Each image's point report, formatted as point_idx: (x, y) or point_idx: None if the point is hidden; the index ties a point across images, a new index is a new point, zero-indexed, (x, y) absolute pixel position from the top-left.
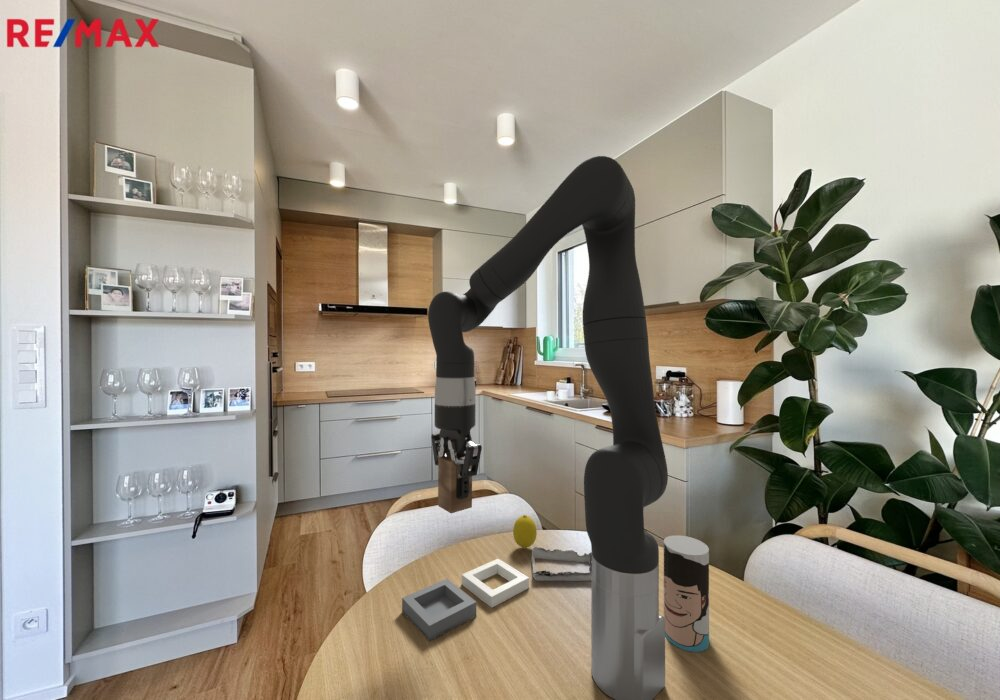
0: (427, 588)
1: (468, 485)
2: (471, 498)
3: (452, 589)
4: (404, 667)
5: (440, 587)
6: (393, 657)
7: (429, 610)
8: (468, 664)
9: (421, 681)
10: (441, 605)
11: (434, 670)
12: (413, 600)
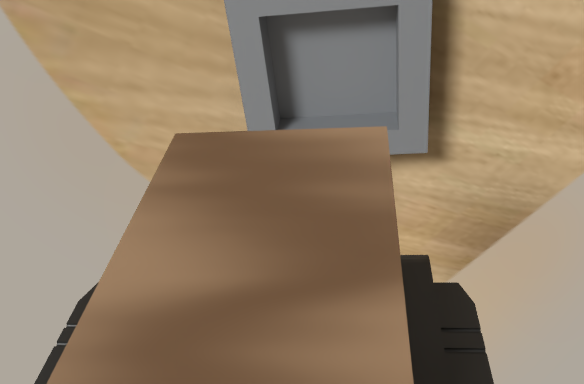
0: (246, 78)
1: (488, 372)
2: (390, 175)
3: (303, 5)
4: (456, 203)
5: (260, 33)
6: (410, 210)
7: (312, 83)
8: (575, 86)
9: (522, 192)
10: (311, 40)
11: (519, 159)
12: None
